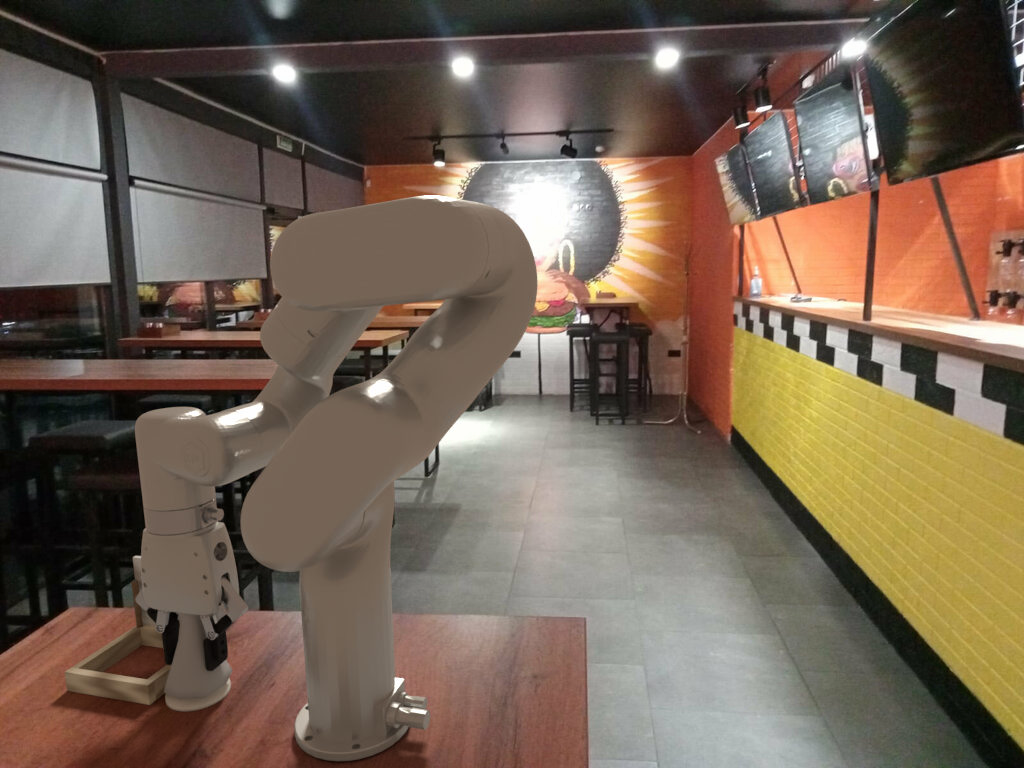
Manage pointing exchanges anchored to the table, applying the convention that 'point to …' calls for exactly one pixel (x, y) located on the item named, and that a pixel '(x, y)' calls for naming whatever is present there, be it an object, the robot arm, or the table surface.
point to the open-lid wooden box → (90, 670)
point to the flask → (193, 663)
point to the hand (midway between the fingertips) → (196, 660)
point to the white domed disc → (197, 700)
